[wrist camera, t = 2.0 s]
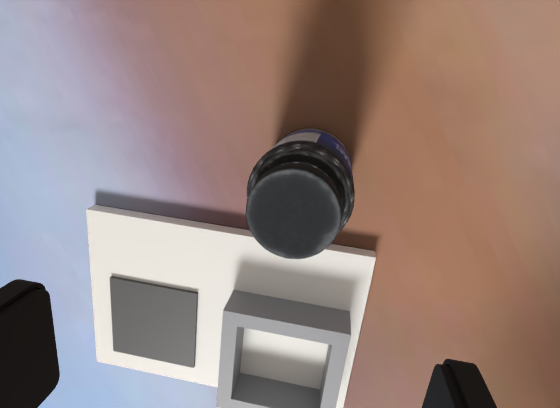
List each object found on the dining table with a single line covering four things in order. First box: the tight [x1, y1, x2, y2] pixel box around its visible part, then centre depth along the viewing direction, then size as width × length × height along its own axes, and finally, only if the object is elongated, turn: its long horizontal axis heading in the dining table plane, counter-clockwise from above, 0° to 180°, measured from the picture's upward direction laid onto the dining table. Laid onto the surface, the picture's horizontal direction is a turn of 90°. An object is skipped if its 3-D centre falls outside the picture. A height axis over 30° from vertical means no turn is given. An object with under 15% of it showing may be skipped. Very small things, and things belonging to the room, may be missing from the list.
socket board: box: [86, 205, 376, 408], centre depth 31 cm, size 24×16×4 cm, turn 84°
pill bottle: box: [246, 128, 355, 259], centre depth 23 cm, size 6×6×11 cm
